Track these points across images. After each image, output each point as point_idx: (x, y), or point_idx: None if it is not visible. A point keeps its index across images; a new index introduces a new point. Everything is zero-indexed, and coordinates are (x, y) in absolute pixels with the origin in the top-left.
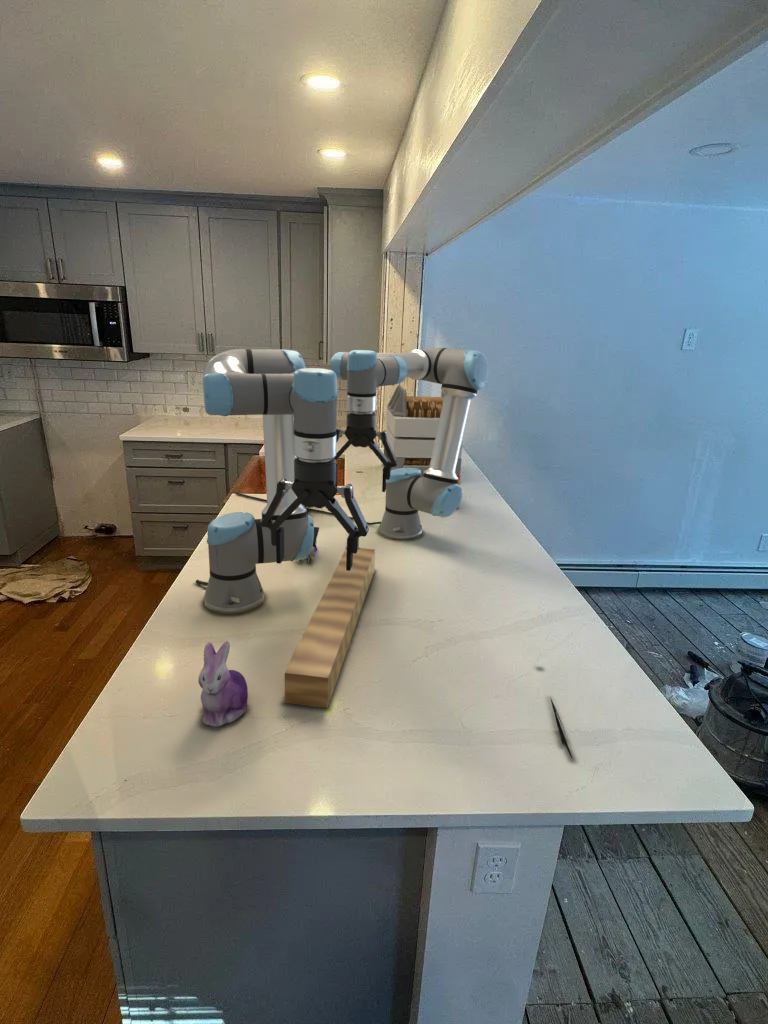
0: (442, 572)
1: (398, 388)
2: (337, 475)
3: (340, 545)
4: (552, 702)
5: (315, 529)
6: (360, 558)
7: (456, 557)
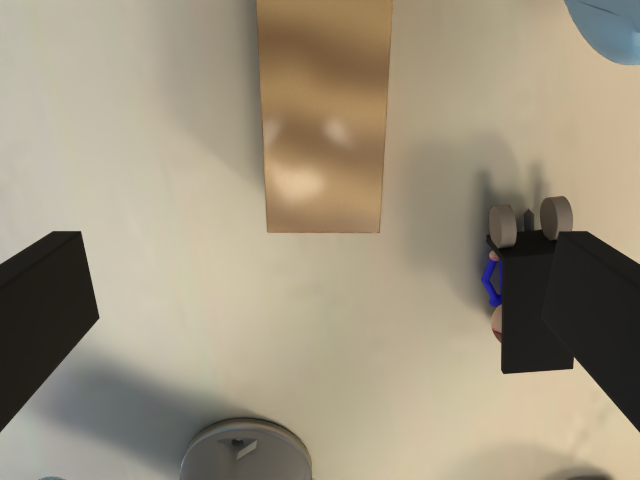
0: None
1: None
2: (603, 379)
3: (412, 354)
4: None
5: (515, 355)
6: (307, 133)
7: None
